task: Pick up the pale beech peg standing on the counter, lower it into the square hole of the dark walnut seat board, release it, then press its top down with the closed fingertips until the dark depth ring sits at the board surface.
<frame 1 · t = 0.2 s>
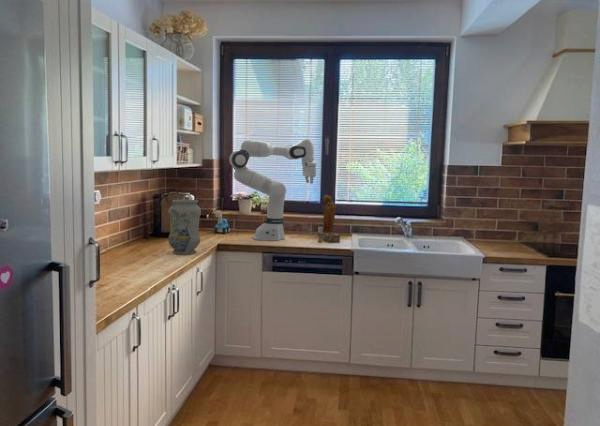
hand: (309, 183, 344), 38 cm above the worktop, tool pointing down, fingers open, 8 cm apart
walnut seat board: (330, 241, 337), on the worktop
vase: (184, 253, 281), on the worktop
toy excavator: (220, 233, 357), on the worktop
beech peg: (320, 241, 333), on the worktop
sculpture: (326, 237, 356), on the worktop
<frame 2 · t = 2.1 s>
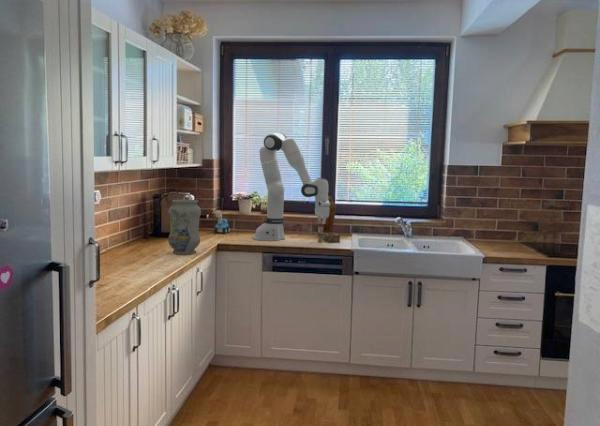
hand: (321, 222, 332), 13 cm above the worktop, tool pointing down, fingers open, 8 cm apart
nothing on the worktop moved.
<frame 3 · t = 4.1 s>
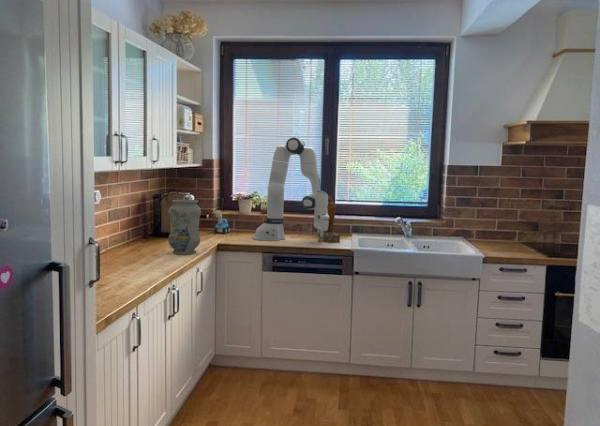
hand: (320, 235, 333), 4 cm above the worktop, tool pointing down, fingers closed on beech peg, 3 cm apart
beech peg: (320, 241, 333), on the worktop, touching gripper
everything else where it was.
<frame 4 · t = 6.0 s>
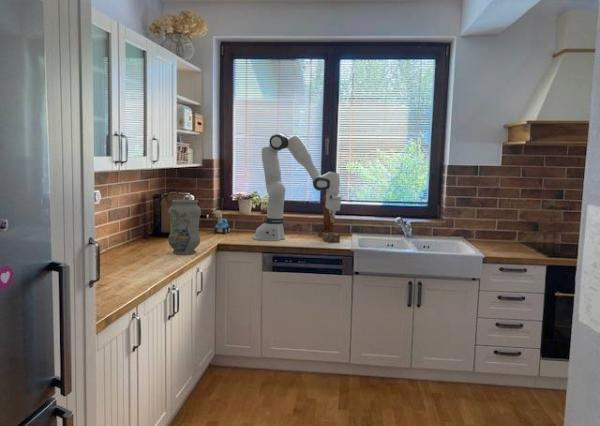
hand: (332, 216, 335), 17 cm above the worktop, tool pointing down, fingers closed on beech peg, 3 cm apart
beech peg: (332, 222, 336), point 13 cm above the worktop, touching gripper
everything else where it was.
when the fingers open (7 cm above the worktop, at t = 8.1 s): beech peg drops 2 cm, resting in walnut seat board.
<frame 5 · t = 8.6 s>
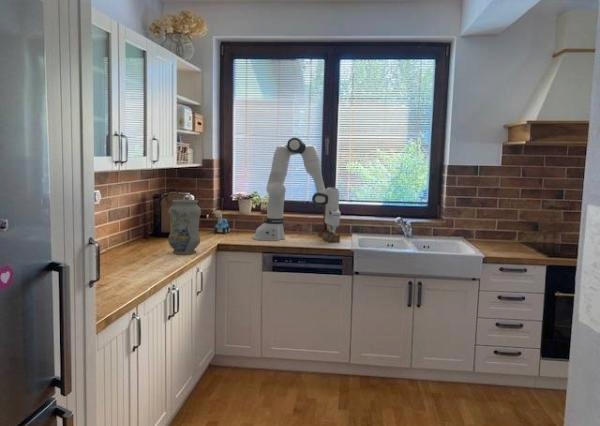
hand: (331, 231, 337), 7 cm above the worktop, tool pointing down, fingers open, 8 cm apart
beech peg: (331, 241, 337), resting in walnut seat board
everything else where it was.
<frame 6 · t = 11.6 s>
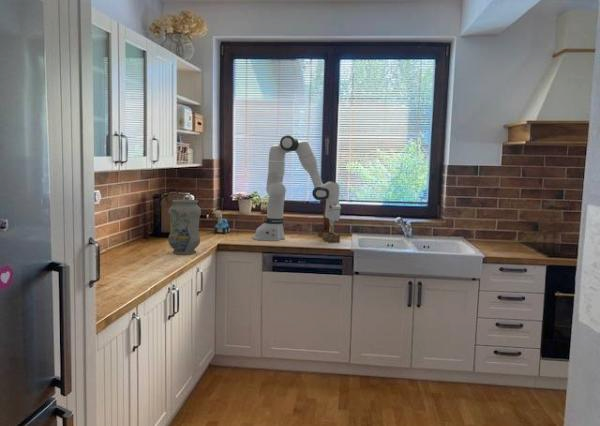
hand: (331, 225, 336), 10 cm above the worktop, tool pointing down, fingers closed
nothing on the worktop moved.
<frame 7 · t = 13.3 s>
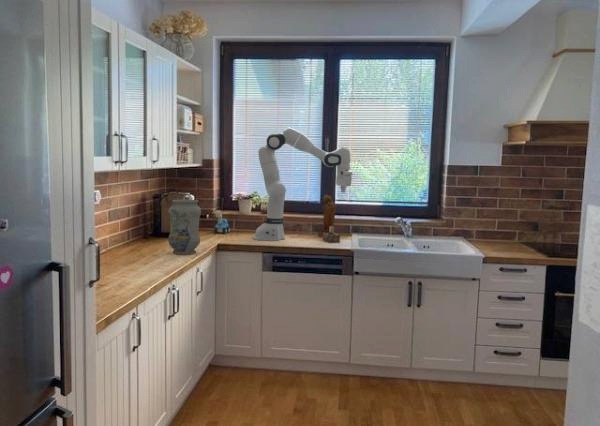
hand: (343, 192, 336), 33 cm above the worktop, tool pointing down, fingers closed
nothing on the worktop moved.
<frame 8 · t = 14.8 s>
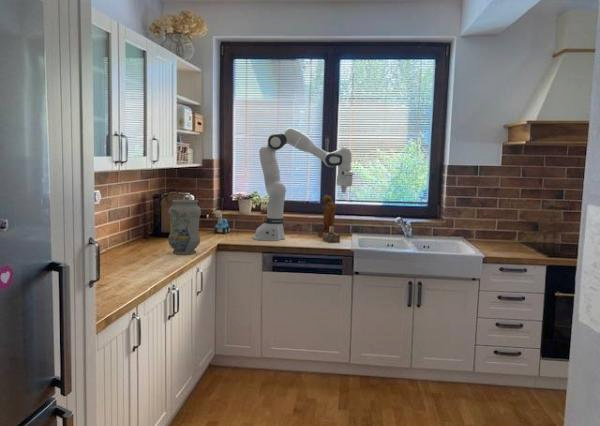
hand: (343, 192, 337), 33 cm above the worktop, tool pointing down, fingers closed
nothing on the worktop moved.
at the end: beech peg 0.1 cm off-centre on the walnut seat board, point 0.0 cm above the walnut seat board's base; beech peg tilted 0°; the gripper is holding nothing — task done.
